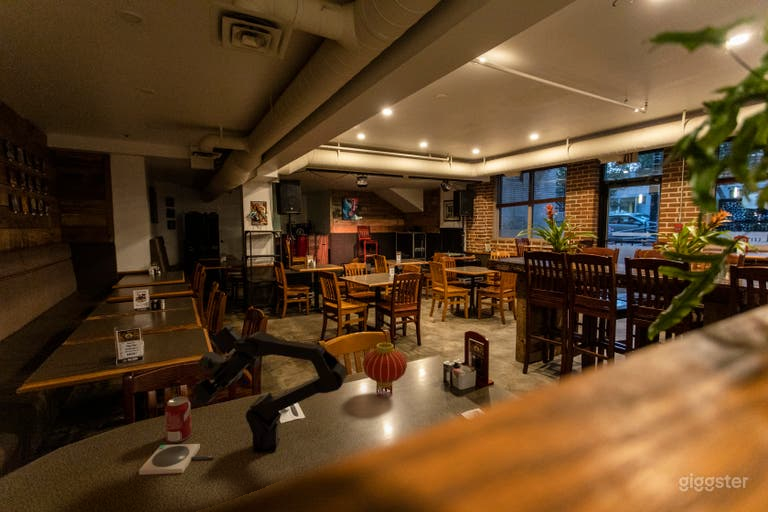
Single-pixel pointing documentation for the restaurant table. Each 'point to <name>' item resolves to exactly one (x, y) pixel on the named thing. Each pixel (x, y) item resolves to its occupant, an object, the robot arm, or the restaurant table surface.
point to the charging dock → (171, 459)
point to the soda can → (178, 419)
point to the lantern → (384, 366)
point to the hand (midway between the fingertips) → (201, 397)
